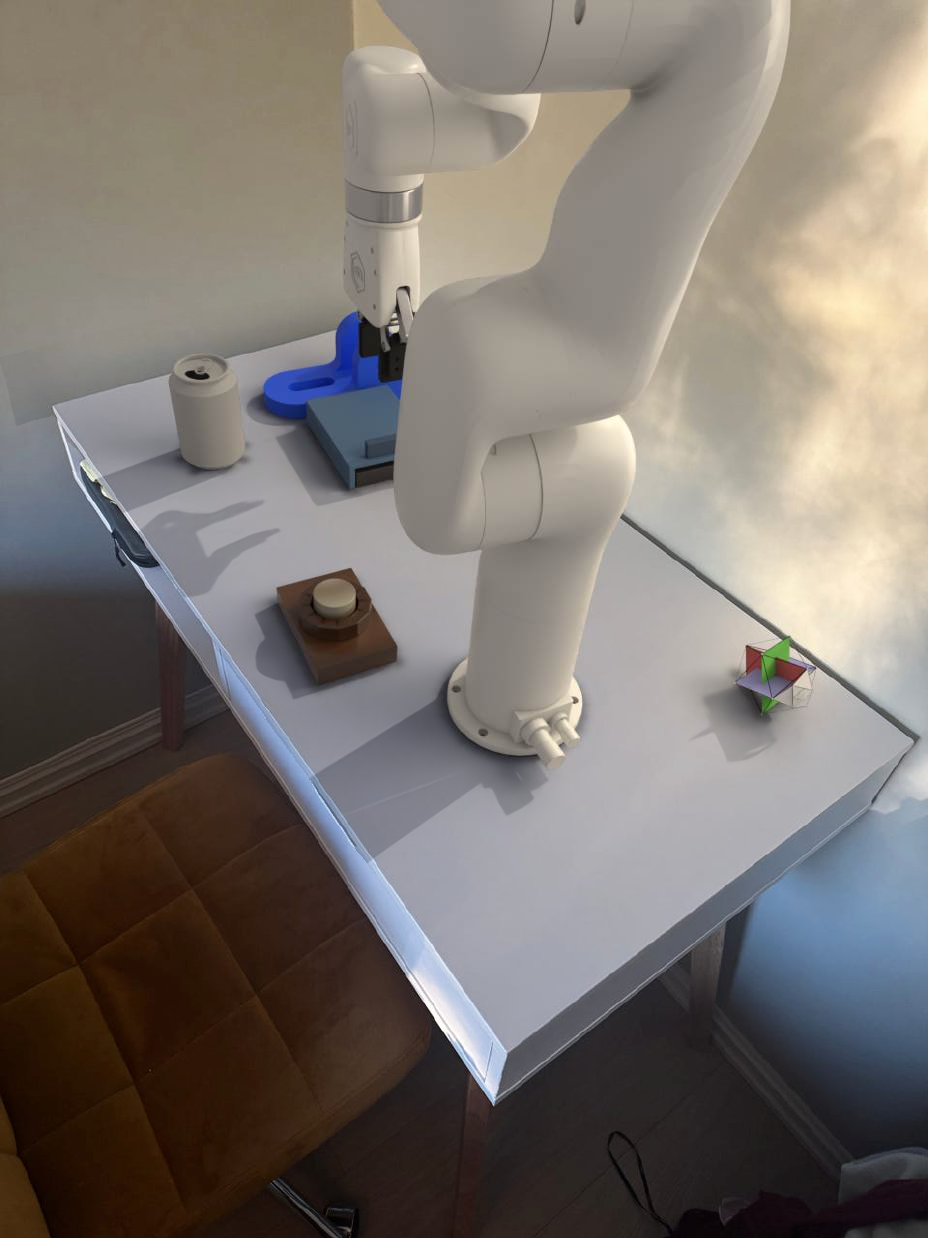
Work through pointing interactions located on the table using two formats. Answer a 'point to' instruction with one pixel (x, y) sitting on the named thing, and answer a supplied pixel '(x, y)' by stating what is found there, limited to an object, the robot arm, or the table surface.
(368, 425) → the cover
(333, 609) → the bell button
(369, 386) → the bracket
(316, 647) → the brown wooden stand
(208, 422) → the can
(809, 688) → the geometric puzzle
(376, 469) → the calculator
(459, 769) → the table surface
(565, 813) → the table surface
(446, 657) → the table surface
